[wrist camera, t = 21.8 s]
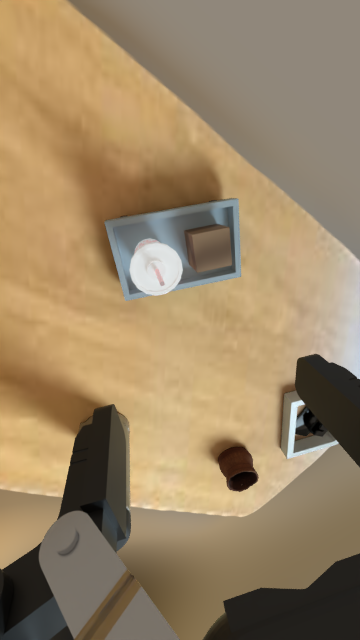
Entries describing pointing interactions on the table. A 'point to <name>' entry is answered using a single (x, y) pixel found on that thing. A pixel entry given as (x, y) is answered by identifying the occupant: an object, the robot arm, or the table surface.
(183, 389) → the table surface
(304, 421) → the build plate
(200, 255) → the walnut block
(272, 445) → the table surface
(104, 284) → the table surface
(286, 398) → the light grey tray
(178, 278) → the beverage cup
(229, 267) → the light blue tray
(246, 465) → the ceramic pot
